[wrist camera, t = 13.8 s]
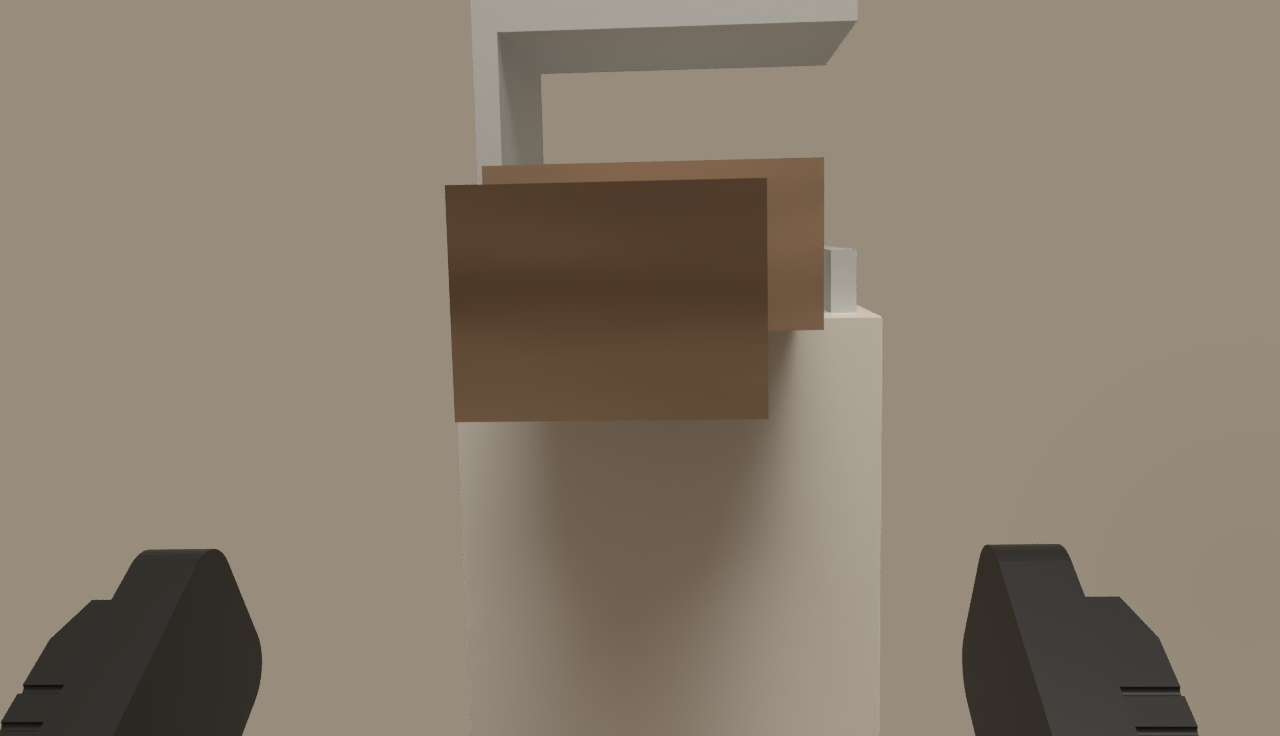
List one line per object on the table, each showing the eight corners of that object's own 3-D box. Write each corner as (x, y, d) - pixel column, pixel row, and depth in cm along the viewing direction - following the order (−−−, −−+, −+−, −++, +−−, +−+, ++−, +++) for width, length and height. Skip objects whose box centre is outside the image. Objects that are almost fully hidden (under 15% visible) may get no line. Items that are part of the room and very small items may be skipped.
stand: (875, 1265, 36) (885, -30, 31) (492, 1251, 37) (439, -14, 32) (836, 1026, 47) (838, 38, 42) (541, 1018, 48) (507, 48, 43)
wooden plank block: (929, 417, 13) (933, 89, 13) (302, 423, 14) (283, 108, 13) (795, 306, 33) (795, 175, 33) (539, 310, 34) (535, 181, 33)
